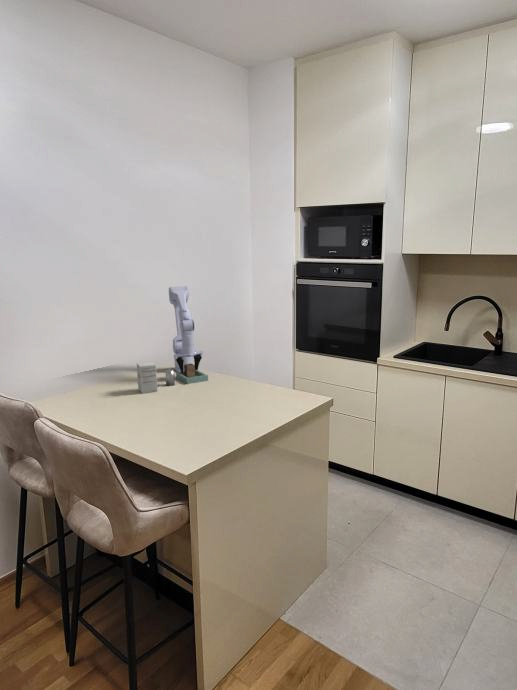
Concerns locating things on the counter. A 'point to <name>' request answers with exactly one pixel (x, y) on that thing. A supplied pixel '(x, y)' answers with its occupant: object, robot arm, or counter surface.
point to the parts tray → (198, 377)
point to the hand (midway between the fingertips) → (189, 371)
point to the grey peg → (170, 377)
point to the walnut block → (189, 370)
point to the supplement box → (147, 377)
